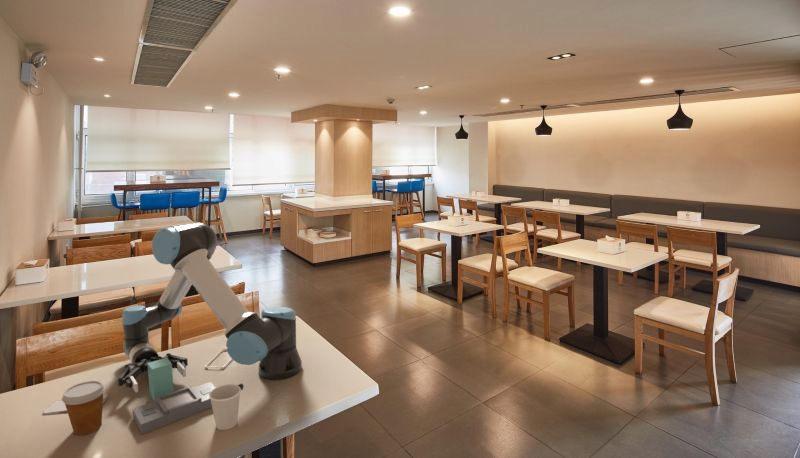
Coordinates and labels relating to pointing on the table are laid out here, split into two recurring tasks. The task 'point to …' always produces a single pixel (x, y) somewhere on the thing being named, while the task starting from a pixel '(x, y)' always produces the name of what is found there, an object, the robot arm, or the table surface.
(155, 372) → the teal tall block
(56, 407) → the smartphone
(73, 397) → the disposable coffee cup
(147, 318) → the robot arm
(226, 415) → the dixie cup
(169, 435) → the table surface
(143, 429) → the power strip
